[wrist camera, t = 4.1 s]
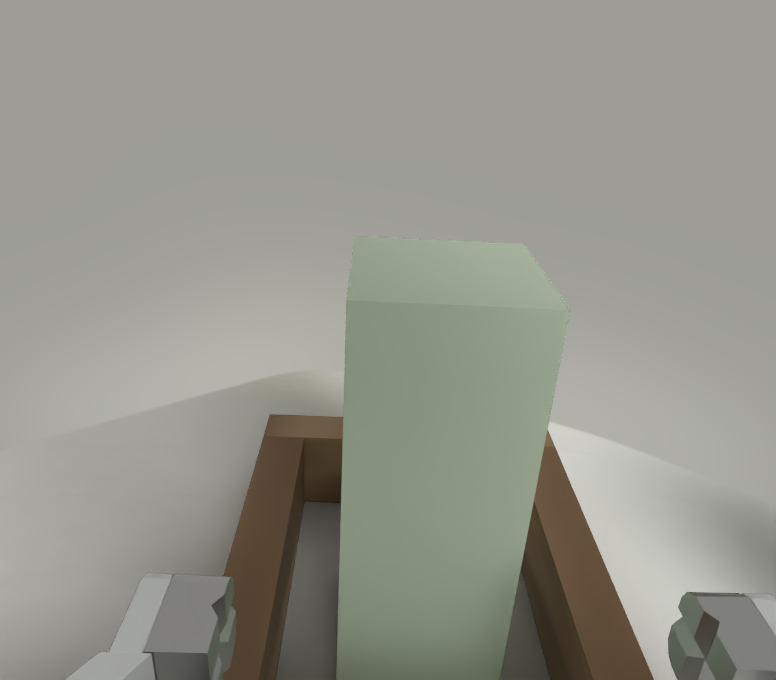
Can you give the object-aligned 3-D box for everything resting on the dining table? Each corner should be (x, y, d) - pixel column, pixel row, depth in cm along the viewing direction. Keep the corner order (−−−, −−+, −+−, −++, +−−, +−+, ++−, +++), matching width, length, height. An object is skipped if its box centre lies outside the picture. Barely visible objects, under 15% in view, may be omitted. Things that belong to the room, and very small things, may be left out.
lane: (114, 1123, 11) (87, 1048, 9) (272, 475, 27) (270, 414, 25) (753, 1124, 11) (812, 1052, 10) (534, 485, 27) (545, 425, 26)
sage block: (335, 698, 18) (346, 299, 13) (343, 575, 22) (354, 235, 17) (495, 701, 18) (570, 310, 13) (474, 579, 22) (524, 244, 17)
